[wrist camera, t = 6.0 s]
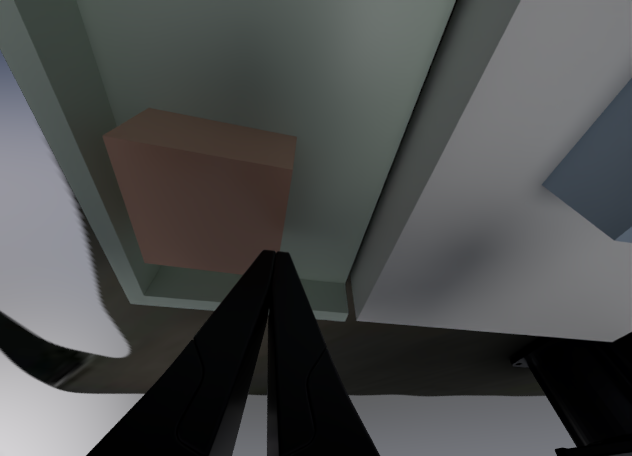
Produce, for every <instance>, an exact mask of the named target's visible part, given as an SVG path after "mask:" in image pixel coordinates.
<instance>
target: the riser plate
mask: <svg viewBox="0 0 632 456" xmlns="http://www.w3.org/2000/svg"><path fill="white" fill-rule="evenodd" d="M631 78H632V0H458V1H457V4H456V6H455V9H454V11H453V14H452V16H451V19H450V21H449V24H448V26H447V29H446V31H445V34H444V37H443V39H442V42H441V44H440V47H439V49H438V52H437V54H436V57H435V59H434V62H433V64H432V67H431V69H430V72H429V75H428V77H427V80H426V82H425V85H424V87H423V90H422V92H421V95H420V97H419V100H418V102H417V105H416V108H415V110H414V113H413V115H412V118H411V120H410V123H409V125H408V128H407V130H406V133H405V135H404V138H403V141H402V143H401V146H400V148H399V151H398V153H397V156H396V158H395V161H394V163H393V166H392V168H391V171H390V174H389V176H388V179H387V181H386V184H385V186H384V189H383V191H382V194H381V196H380V199H379V201H378V204H377V206H376V209H375V212H374V214H373V217H372V219H371V222H370V224H369V227H368V229H367V232H366V234H365V237H364V239H363V242H362V245H361V247H360V250H359V252H358V255H357V257H356V260H355V262H354V265H353V267H352V270H351V272H350V278H351V285H352V292H353V299H354V306H355V314H356V321H365V322H377V323H389V324H401V325H413V326H425V327H437V328H449V329H461V330H473V331H485V332H497V333H509V334H521V335H533V336H545V337H557V338H569V339H581V340H593V341H605V342H613V341H615V340H617V339H619V338H621V337H623V336H625V335H627V334H628V333H630V332H632V243H628V242H620V241H614V240H613V239H611V238H610V237H609V236H607V235H606V234H605V233H604V232H602V231H601V230H600V229H598V228H597V227H596V226H594V225H593V224H592V223H591V222H589V221H588V220H587V219H585V218H584V217H583V216H581V215H580V214H579V213H578V212H576V211H575V210H574V209H572V208H571V207H570V206H568V205H567V204H566V203H565V202H563V201H562V200H561V199H559V198H558V197H557V196H555V195H554V194H553V193H552V192H550V191H549V190H548V189H546V188H545V187H544V186H542V184H543V182H544V181H545V180H546V179H547V178H548V176H549V175H550V174H551V173H552V172H553V171H554V169H555V168H556V167H557V166H558V165H559V163H560V162H561V161H562V160H563V159H564V157H565V156H566V155H567V154H568V153H569V152H570V150H571V149H572V148H573V147H574V146H575V144H576V143H577V142H578V141H579V140H580V139H581V137H582V136H583V135H584V134H585V133H586V131H587V130H588V129H589V128H590V127H591V125H592V124H593V123H594V122H595V121H596V120H597V118H598V117H599V116H600V115H601V114H602V112H603V111H604V110H605V109H606V108H607V107H608V105H609V104H610V103H611V102H612V101H613V99H614V98H615V97H616V96H617V95H618V93H619V92H620V91H621V90H622V89H623V88H624V86H625V85H626V84H627V83H628V82H629V80H630V79H631Z"/></svg>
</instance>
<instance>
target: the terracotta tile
mask: <svg viewBox="0 0 632 456" xmlns="http://www.w3.org/2000/svg"><path fill="white" fill-rule="evenodd" d="M102 137H103V140H104V143H105V146H106V149H107V152H108V155H109V158H110V161H111V164H112V167H113V170H114V173H115V176H116V179H117V182H118V185H119V188H120V191H121V194H122V197H123V200H124V203H125V206H126V209H127V212H128V215H129V218H130V221H131V224H132V227H133V230H134V233H135V236H136V239H137V242H138V245H139V248H140V251H141V254H142V257H143V260H144V263H148V264H157V265H165V266H173V267H182V268H190V269H198V270H207V271H215V272H224V273H232V274H240V275H243V274H244V273H245V272H246V270H247V269H248V268H249V267H250V265H251V264H252V263H253V262H254V260H255V259H256V258H257V257H258V255H259V254H260V253H261V252H262V251H263V250H273V251H275V252H277V251H280V247H281V241H282V235H283V228H284V222H285V216H286V210H287V203H288V197H289V191H290V185H291V178H292V172H293V165H294V157H295V149H296V141H297V137H296V136H291V135H285V134H280V133H275V132H270V131H265V130H260V129H255V128H250V127H245V126H240V125H234V124H229V123H224V122H219V121H214V120H209V119H204V118H199V117H194V116H189V115H183V114H178V113H173V112H168V111H163V110H158V109H153V108H147V109H146V110H144V111H142V112H141V113H139V114H137V115H136V116H134V117H132V118H131V119H129V120H127V121H126V122H124V123H122V124H121V125H119V126H117V127H116V128H114V129H112V130H111V131H109V132H107V133H106V134H104V135H103V136H102Z"/></svg>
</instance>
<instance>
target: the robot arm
mask: <svg viewBox="0 0 632 456" xmlns="http://www.w3.org/2000/svg"><path fill="white" fill-rule="evenodd" d="M268 313H269V316H268ZM267 319H268V391H267V398H268V399H267V456H380V455H379V453H378V451H377V449H376V447H375V445H374V443H373V441H372V439H371V438H370V436H369V434H368V432H367V430H366V428H365V426H364V424H363V423H362V421H361V419H360V417H359V415H358V413H357V411H356V409H355V408H354V406H353V404H352V402H351V400H350V398H349V396H348V394H347V392H346V390H345V388H344V386H343V384H342V381H341V379H340V377H339V375H338V372H337V370H336V368H335V365H334V363H333V361H332V358H331V355H330V353H329V350H328V349H326V348H327V346H326V343H325V341H324V338H323V336H322V333H321V331H320V328H319V326H318V323H317V321H316V318H315V316H314V313H313V311H312V308H311V306H310V303H309V300H308V298H307V295H306V293H305V290H304V288H303V285H302V283H301V280H300V278H299V275H298V273H297V270H296V268H295V265H294V263H293V260H292V258H291V255H290V253H289V252H282V251H277V252H275V251H273V250H263V251H262V252H261V253H260V254H259V255H258V257H257V258H256V259H255V260H254V262H253V263H252V264H251V265H250V267H249V268H248V269H247V270H246V272H245V273H244V274H243V275H242V277H241V278H240V279H239V281H238V282H237V283H236V284H235V286H234V287H233V288H232V289H231V291H230V292H229V293H228V294H227V296H226V297H225V298H224V300H223V301H222V302H221V303H220V305H219V306H218V307H217V308H216V310H215V311H214V312H213V313H212V315H211V316H210V317H209V318H208V320H207V321H206V322H205V324H204V325H203V326H202V327H201V329H200V330H199V331H198V332H197V334H196V335H195V336H194V338H193V339H194V340H191V341H190V342H189V344H188V345H187V346H186V347H185V349H184V350H183V351H182V352H181V354H180V355H179V356H178V357H177V358H176V360H175V361H174V362H173V363H172V364H171V366H170V367H169V368H168V369H167V370H166V372H165V373H164V374H163V375H162V376H161V377H160V378H159V379H158V380H157V382H156V383H155V384H154V385H153V386H152V387H151V388H150V389H149V390H148V391H147V392H146V394H145V395H144V396H143V397H142V398H141V399H140V400H139V401H138V402H137V403H136V404H135V405H134V406H133V407H132V408H131V409H130V410H129V411H128V412H127V414H126V415H125V416H124V417H123V418H122V419H121V420H120V421H119V422H118V423H117V424H116V425H115V426H114V427H113V428H112V429H111V430H110V431H109V432H108V433H107V434H106V435H105V436H104V438H103V439H102V440H101V441H100V442H99V443H98V444H97V445H96V446H95V447H94V448H93V449H92V450H91V451H90V452H89V453H88V454H87V455H86V456H232V453H233V450H234V446H235V442H236V438H237V434H238V430H239V427H240V423H241V419H242V415H243V411H244V408H245V404H246V400H247V396H248V392H249V388H250V385H251V381H252V377H253V373H254V369H255V365H256V362H257V358H258V354H259V350H260V346H261V342H262V339H263V335H264V331H265V327H266V323H267ZM510 362H511V364H512V366H514V367H529V368H530V370H531V372H532V373H533V375H534V377H535V378H536V380H537V382H538V383H539V385H540V387H541V388H542V390H543V392H544V393H545V395H546V397H547V398H548V400H549V401H550V403H551V405H552V406H553V408H554V410H555V411H556V413H557V415H558V416H559V418H560V420H561V421H562V423H563V425H564V426H565V428H566V430H567V431H568V433H569V435H570V436H571V438H572V440H573V441H574V443H575V445H576V446H577V447H575V448H569V449H567V448H558V449H555V452H556V454H557V456H632V332H630V333H628V334H627V335H625V336H623V337H621V338H619V339H617V340H615V341H613V342H605V341H593V340H581V339H569V338H557V337H544V338H542V339H541V340H539V341H537V342H536V343H534V344H533V345H531V346H530V347H528V348H527V349H525V350H524V351H522V352H521V353H519V354H518V355H516V356H515V357H513V358H512V359H510Z"/></svg>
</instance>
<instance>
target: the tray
mask: <svg viewBox="0 0 632 456" xmlns="http://www.w3.org/2000/svg"><path fill="white" fill-rule="evenodd" d="M455 1H456V0H0V50H1V52H2V54H3V56H4V58H5V59H6V62H7V64H8V66H9V68H10V69H11V71H12V73H13V75H14V77H15V79H16V81H17V83H18V85H19V87H20V89H21V91H22V93H23V95H24V97H25V99H26V101H27V103H28V105H29V107H30V109H31V110H32V112H33V114H34V116H35V118H36V120H37V122H38V124H39V126H40V128H41V130H42V132H43V134H44V136H45V138H46V140H47V142H48V144H49V146H50V148H51V149H52V151H53V153H54V155H55V157H56V159H57V161H58V163H59V165H60V167H61V169H62V171H63V173H64V175H65V177H66V179H67V181H68V183H69V185H70V187H71V189H72V190H73V192H74V194H75V196H76V198H77V200H78V202H79V204H80V206H81V208H82V210H83V212H84V214H85V216H86V218H87V220H88V222H89V224H90V226H91V228H92V229H93V231H94V233H95V235H96V237H97V239H98V241H99V243H100V245H101V247H102V249H103V251H104V253H105V255H106V257H107V259H108V261H109V263H110V265H111V267H112V269H113V270H114V272H115V274H116V276H117V278H118V280H119V282H120V284H121V286H122V288H123V290H124V292H125V294H126V296H127V298H128V300H129V302H130V304H139V305H151V306H163V307H175V308H187V309H200V310H212V311H215V310H216V308H217V307H218V306H219V305H220V303H221V302H222V301H223V300H224V298H225V297H226V296H227V294H228V293H229V292H230V291H231V289H232V288H233V287H234V286H235V284H236V283H237V282H238V281H239V279H240V278H241V277H242V275H240V274H232V273H224V272H215V271H207V270H198V269H190V268H182V267H173V266H165V265H157V264H148V263H144V260H143V257H142V254H141V251H140V248H139V245H138V242H137V239H136V236H135V233H134V230H133V227H132V224H131V221H130V218H129V215H128V212H127V209H126V206H125V203H124V200H123V197H122V194H121V191H120V188H119V185H118V182H117V179H116V176H115V173H114V170H113V167H112V164H111V161H110V158H109V155H108V152H107V149H106V146H105V143H104V140H103V137H102V136H103V135H104V134H106V133H107V132H109V131H111V130H112V129H114V128H116V127H117V126H119V125H121V124H122V123H124V122H126V121H127V120H129V119H131V118H132V117H134V116H136V115H137V114H139V113H141V112H142V111H144V110H146V109H147V108H153V109H158V110H163V111H168V112H173V113H178V114H183V115H189V116H194V117H199V118H204V119H209V120H214V121H219V122H224V123H229V124H234V125H240V126H245V127H250V128H255V129H260V130H265V131H270V132H275V133H280V134H285V135H291V136H296V137H297V141H296V149H295V157H294V165H293V172H292V178H291V185H290V191H289V197H288V203H287V210H286V216H285V222H284V228H283V235H282V241H281V247H280V251H282V252H289V253H290V255H291V258H292V260H293V263H294V265H295V268H296V270H297V273H298V275H299V278H300V280H301V283H302V285H303V288H304V290H305V293H306V295H307V298H308V300H309V303H310V306H311V308H312V311H313V313H314V316H315V318H316V319H321V320H333V321H345V320H346V318H347V316H348V314H349V312H348V304H347V295H346V287H345V283H346V280H347V278H348V275H349V273H350V270H351V267H352V265H353V262H354V260H355V257H356V255H357V252H358V250H359V247H360V244H361V242H362V239H363V237H364V234H365V232H366V229H367V226H368V224H369V221H370V219H371V216H372V214H373V211H374V209H375V206H376V203H377V201H378V198H379V196H380V193H381V191H382V188H383V186H384V183H385V180H386V178H387V175H388V173H389V170H390V168H391V165H392V162H393V160H394V157H395V155H396V152H397V150H398V147H399V145H400V142H401V139H402V137H403V134H404V132H405V129H406V127H407V124H408V121H409V119H410V116H411V114H412V111H413V109H414V106H415V104H416V101H417V98H418V96H419V93H420V91H421V88H422V86H423V83H424V81H425V78H426V75H427V73H428V70H429V68H430V65H431V63H432V60H433V57H434V55H435V52H436V50H437V47H438V45H439V42H440V40H441V37H442V34H443V32H444V29H445V27H446V24H447V22H448V19H449V17H450V14H451V11H452V9H453V6H454V4H455ZM268 315H269V313H268Z"/></svg>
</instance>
